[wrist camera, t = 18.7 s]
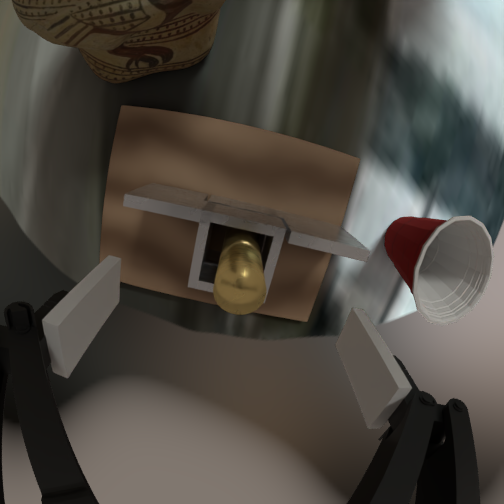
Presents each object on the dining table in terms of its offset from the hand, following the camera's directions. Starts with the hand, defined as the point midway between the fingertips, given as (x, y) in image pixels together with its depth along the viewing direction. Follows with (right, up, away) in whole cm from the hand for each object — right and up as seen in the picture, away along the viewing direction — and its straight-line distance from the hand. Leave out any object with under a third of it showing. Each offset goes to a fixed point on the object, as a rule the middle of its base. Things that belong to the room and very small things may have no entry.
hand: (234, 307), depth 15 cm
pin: (0, +5, +15) cm, 16 cm away
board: (-3, +7, +16) cm, 17 cm away
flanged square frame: (-4, +6, +15) cm, 16 cm away
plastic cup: (+20, +5, +18) cm, 27 cm away
